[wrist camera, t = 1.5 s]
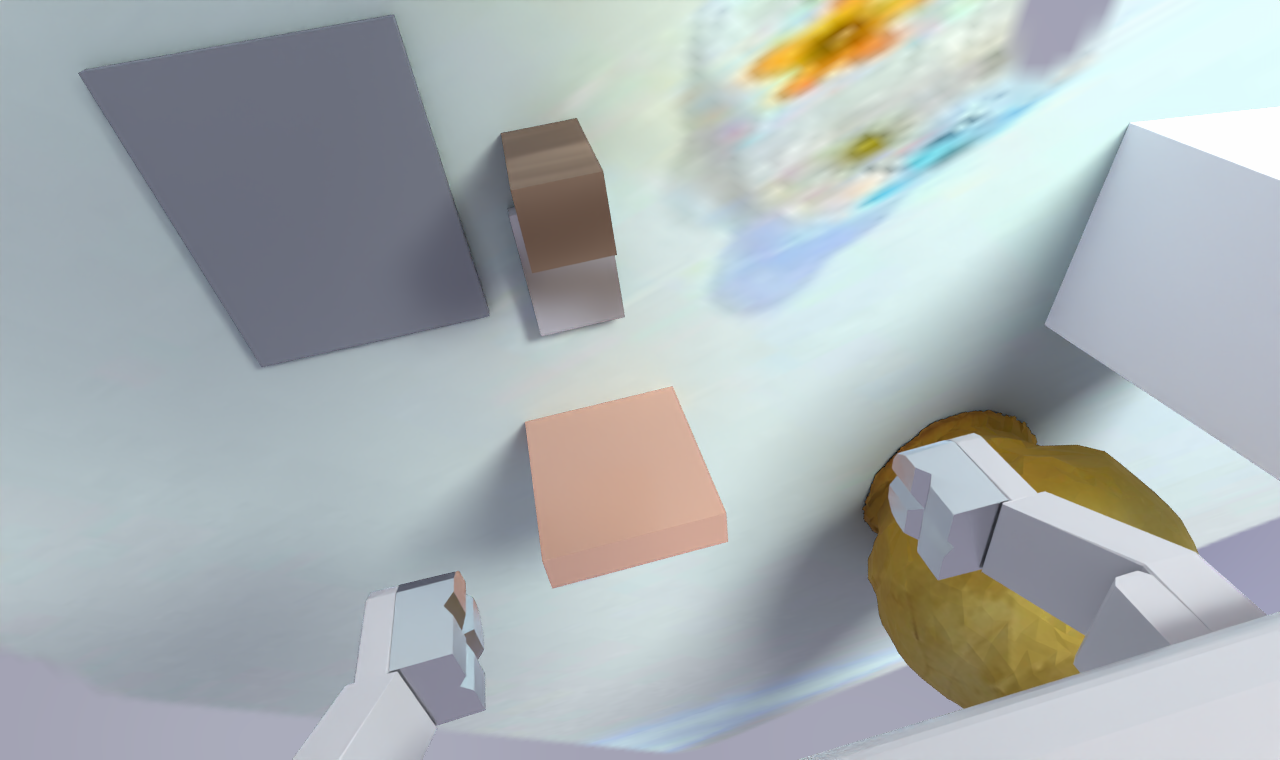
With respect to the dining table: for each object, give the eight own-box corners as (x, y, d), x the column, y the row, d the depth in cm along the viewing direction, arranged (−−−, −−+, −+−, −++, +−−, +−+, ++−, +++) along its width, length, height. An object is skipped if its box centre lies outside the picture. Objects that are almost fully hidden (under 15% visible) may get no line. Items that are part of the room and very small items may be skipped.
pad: (85, 69, 21) (78, 72, 21) (393, 14, 22) (392, 16, 22) (264, 360, 29) (261, 367, 28) (488, 310, 30) (489, 316, 29)
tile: (525, 421, 34) (542, 561, 27) (672, 386, 35) (726, 512, 28) (534, 449, 35) (552, 589, 28) (675, 415, 36) (728, 542, 29)
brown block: (487, 135, 25) (494, 193, 20) (588, 115, 25) (618, 168, 21) (539, 327, 31) (554, 406, 26) (621, 308, 31) (650, 383, 26)
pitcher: (1124, 385, 43) (1629, 824, 24) (973, 557, 54) (1235, 950, 35) (901, 367, 38) (1311, 899, 19) (787, 561, 49) (973, 1016, 30)
